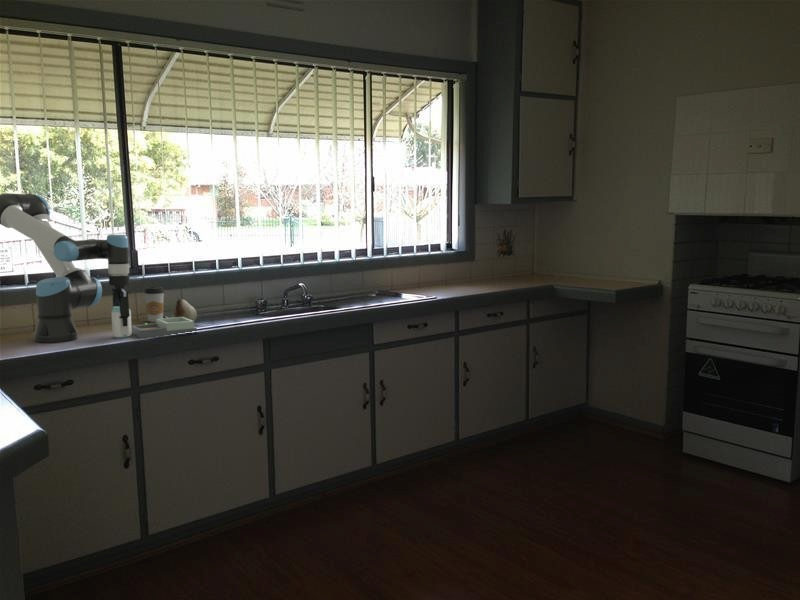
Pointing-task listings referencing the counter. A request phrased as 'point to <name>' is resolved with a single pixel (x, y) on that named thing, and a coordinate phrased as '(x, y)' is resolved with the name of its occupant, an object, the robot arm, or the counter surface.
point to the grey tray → (164, 327)
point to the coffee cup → (154, 303)
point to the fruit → (184, 310)
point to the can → (116, 323)
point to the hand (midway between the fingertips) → (122, 332)
